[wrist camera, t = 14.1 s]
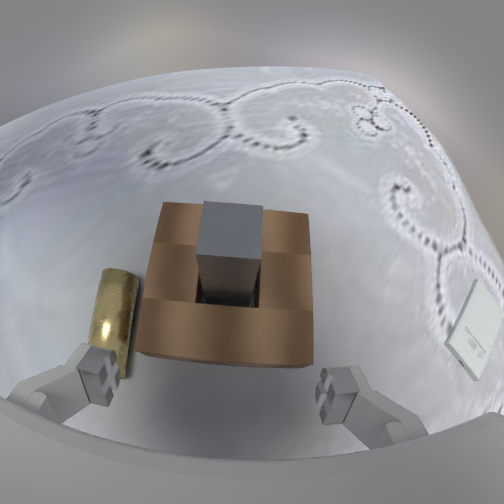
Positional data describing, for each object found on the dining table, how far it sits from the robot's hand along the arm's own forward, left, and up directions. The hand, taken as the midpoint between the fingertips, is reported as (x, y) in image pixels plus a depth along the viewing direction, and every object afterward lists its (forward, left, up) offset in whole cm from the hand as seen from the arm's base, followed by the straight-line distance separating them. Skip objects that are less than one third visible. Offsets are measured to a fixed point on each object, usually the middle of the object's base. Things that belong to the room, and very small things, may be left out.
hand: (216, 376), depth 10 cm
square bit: (-7, +6, -16) cm, 19 cm away
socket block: (-7, +6, -16) cm, 19 cm away
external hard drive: (+19, +28, -17) cm, 38 cm away
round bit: (-11, -6, -17) cm, 21 cm away
